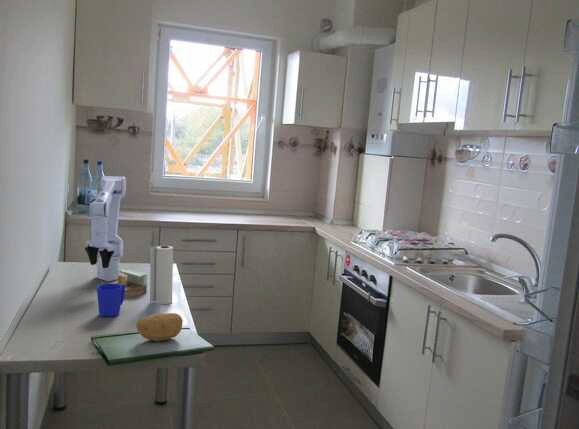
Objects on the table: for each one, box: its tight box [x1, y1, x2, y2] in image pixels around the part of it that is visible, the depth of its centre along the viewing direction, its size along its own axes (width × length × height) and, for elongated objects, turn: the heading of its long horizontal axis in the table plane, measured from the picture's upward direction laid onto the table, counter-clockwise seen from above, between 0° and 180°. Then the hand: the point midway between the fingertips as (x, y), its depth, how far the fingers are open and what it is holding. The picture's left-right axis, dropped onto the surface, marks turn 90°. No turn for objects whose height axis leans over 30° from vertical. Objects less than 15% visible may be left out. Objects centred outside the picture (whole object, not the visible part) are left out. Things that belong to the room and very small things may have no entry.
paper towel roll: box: [149, 245, 174, 305], centre depth 203 cm, size 7×6×21 cm
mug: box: [96, 282, 125, 318], centre depth 190 cm, size 8×12×10 cm
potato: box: [135, 312, 184, 342], centre depth 167 cm, size 10×14×8 cm
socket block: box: [108, 281, 148, 299], centre depth 214 cm, size 12×12×3 cm
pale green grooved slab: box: [119, 268, 148, 292], centre depth 217 cm, size 12×4×8 cm, turn 55°
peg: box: [117, 274, 127, 287], centre depth 213 cm, size 4×4×7 cm
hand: (99, 266), depth 214 cm, fingers open, 7 cm apart
